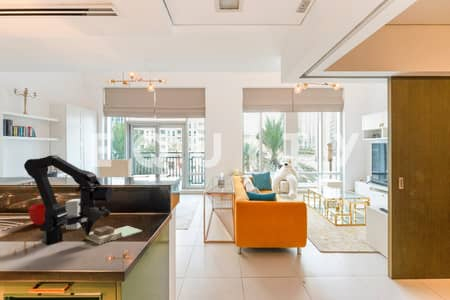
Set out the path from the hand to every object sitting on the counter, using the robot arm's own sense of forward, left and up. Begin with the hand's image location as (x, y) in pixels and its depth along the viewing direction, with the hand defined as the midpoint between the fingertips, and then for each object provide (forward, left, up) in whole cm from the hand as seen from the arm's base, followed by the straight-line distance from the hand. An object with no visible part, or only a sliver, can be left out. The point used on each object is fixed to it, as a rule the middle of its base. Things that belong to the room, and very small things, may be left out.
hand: (87, 235), depth 116 cm
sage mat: (+19, 0, -4) cm, 20 cm away
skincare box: (+7, +28, -4) cm, 29 cm away
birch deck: (+8, 0, -4) cm, 9 cm away
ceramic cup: (+1, +49, -4) cm, 49 cm away
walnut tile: (+8, 0, -1) cm, 8 cm away
